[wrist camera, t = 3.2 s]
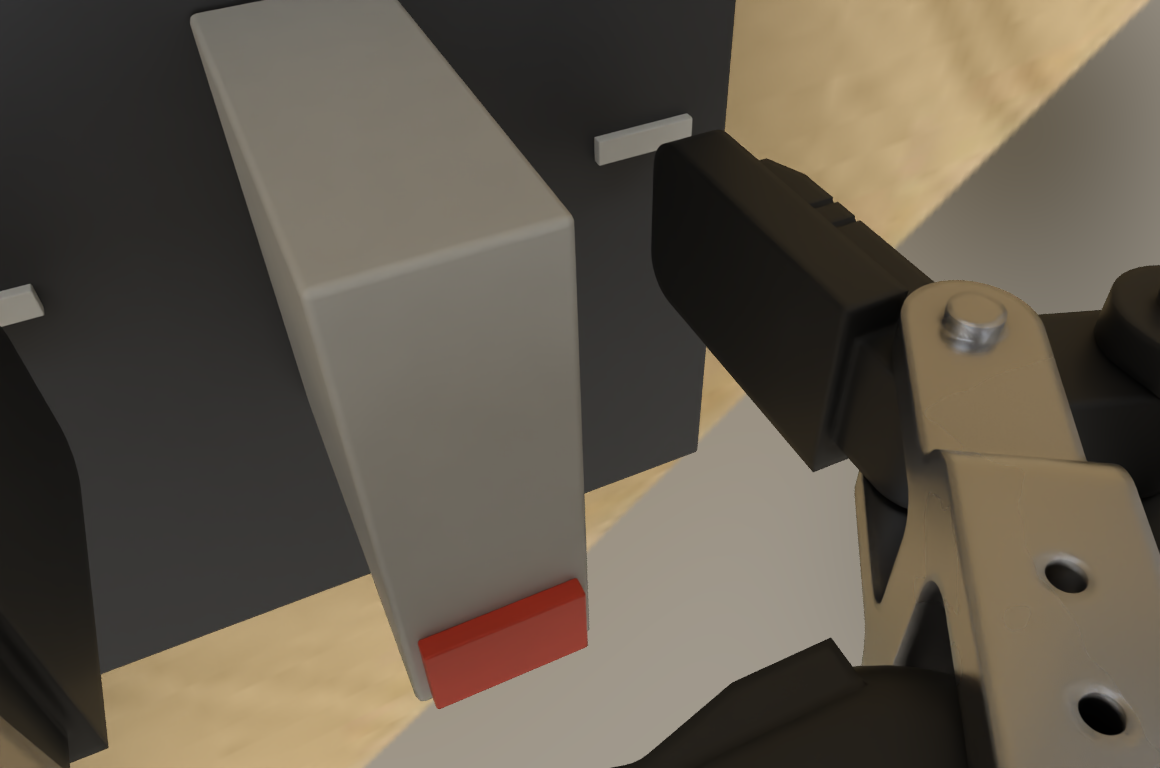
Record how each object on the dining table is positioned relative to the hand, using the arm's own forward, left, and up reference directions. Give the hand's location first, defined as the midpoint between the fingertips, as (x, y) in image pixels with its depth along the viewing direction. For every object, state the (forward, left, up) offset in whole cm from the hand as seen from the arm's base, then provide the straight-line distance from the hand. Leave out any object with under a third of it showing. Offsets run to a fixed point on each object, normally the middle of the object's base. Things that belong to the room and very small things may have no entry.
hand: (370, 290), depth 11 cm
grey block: (0, 0, -1) cm, 1 cm away
